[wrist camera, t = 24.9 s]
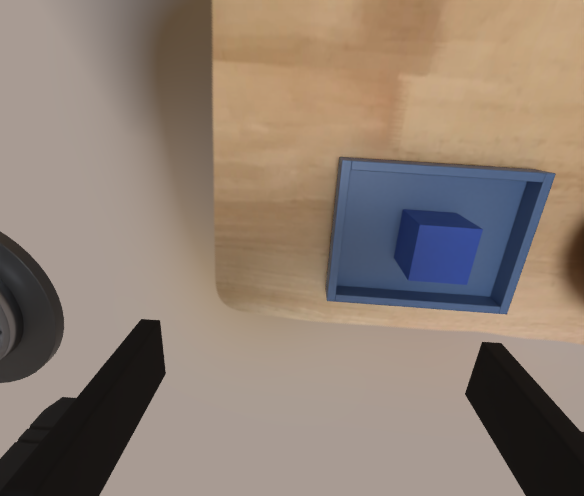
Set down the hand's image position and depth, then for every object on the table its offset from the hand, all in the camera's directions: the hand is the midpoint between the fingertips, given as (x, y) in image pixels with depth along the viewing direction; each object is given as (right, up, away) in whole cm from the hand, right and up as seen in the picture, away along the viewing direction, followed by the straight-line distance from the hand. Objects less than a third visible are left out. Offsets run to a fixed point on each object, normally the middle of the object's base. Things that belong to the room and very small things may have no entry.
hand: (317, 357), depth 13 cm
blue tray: (+12, +6, +18) cm, 23 cm away
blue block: (+12, +6, +18) cm, 22 cm away
